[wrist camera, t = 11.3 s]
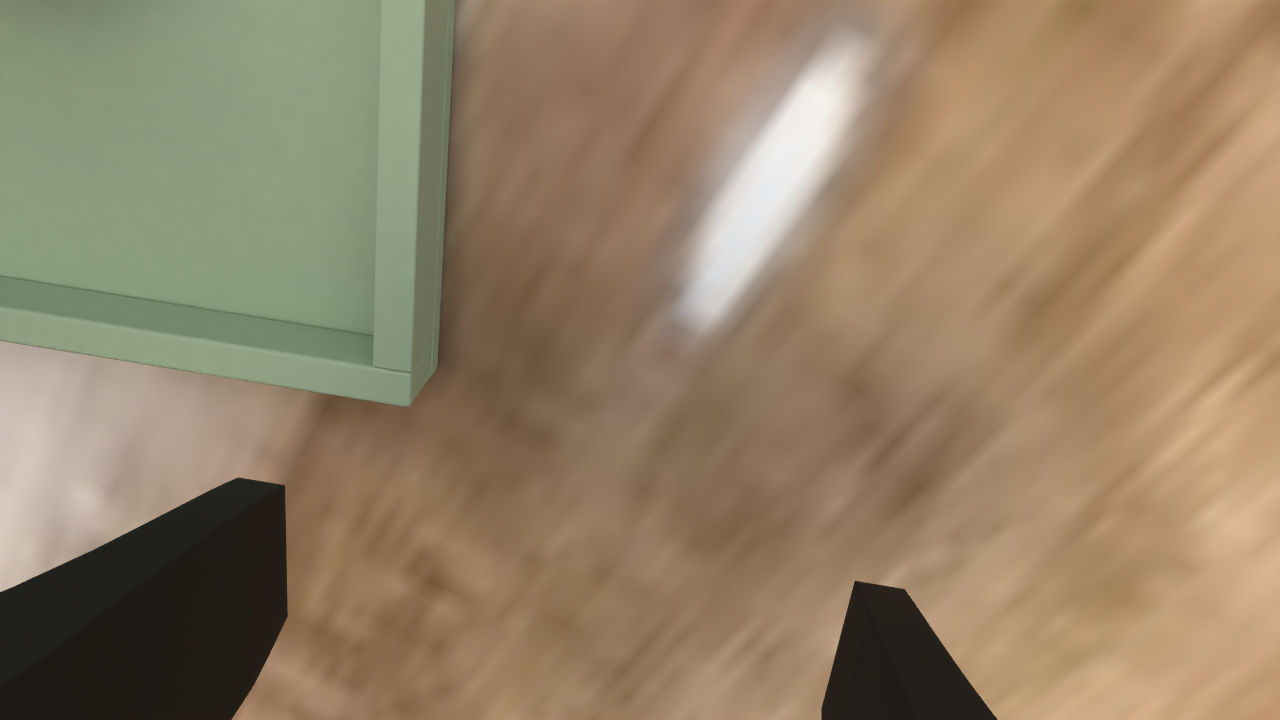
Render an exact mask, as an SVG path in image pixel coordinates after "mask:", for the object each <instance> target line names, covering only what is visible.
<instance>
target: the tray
mask: <svg viewBox="0 0 1280 720" xmlns="http://www.w3.org/2000/svg"><path fill="white" fill-rule="evenodd" d="M455 3H456V0H0V341H5V342H11V343H17V344H24V345H30V346H36V347H42V348H48V349H54V350H60V351H66V352H73V353H79V354H85V355H91V356H97V357H103V358H109V359H116V360H122V361H128V362H134V363H140V364H146V365H152V366H158V367H165V368H171V369H177V370H183V371H189V372H195V373H201V374H207V375H214V376H220V377H226V378H232V379H238V380H244V381H250V382H256V383H263V384H269V385H275V386H281V387H287V388H293V389H299V390H305V391H312V392H318V393H324V394H330V395H336V396H342V397H348V398H354V399H361V400H367V401H373V402H379V403H385V404H391V405H397V406H403V407H408V406H410V405H411V404H412V402H413V401H414V400H415V398H416V397H417V395H418V394H419V392H420V391H421V390H422V388H423V387H424V385H425V384H426V382H427V381H428V380H429V378H430V376H432V375H433V374H434V372H435V371H436V369H437V367H438V349H439V328H440V308H441V288H442V267H443V247H444V227H445V206H446V186H447V166H448V145H449V125H450V105H451V84H452V64H453V44H454V23H455Z"/></svg>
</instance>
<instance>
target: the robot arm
mask: <svg viewBox="0 0 1280 720" xmlns="http://www.w3.org/2000/svg"><path fill="white" fill-rule="evenodd" d="M287 616H288V613H287V564H286V514H285V485H280V484H274V483H268V482H262V481H256V480H250V479H244V478H236V479H234V480H232V481H229V482H227V483H225V484H222V485H220V486H218V487H216V488H214V489H212V490H210V491H208V492H206V493H204V494H202V495H200V496H198V497H196V498H194V499H192V500H190V501H188V502H186V503H184V504H183V505H181V506H179V507H177V508H175V509H173V510H171V511H169V512H167V513H165V514H163V515H161V516H159V517H157V518H156V519H154V520H152V521H150V522H148V523H146V524H144V525H142V526H140V527H138V528H136V529H134V530H132V531H130V532H128V533H126V534H124V535H122V536H120V537H118V538H116V539H114V540H112V541H110V542H108V543H106V544H104V545H102V546H100V547H98V548H96V549H94V550H92V551H90V552H88V553H86V554H84V555H81V556H79V557H77V558H75V559H73V560H71V561H68V562H66V563H64V564H62V565H60V566H58V567H55V568H53V569H51V570H49V571H47V572H44V573H42V574H40V575H38V576H36V577H34V578H31V579H29V580H27V581H25V582H23V583H21V584H18V585H16V586H14V587H12V588H9V589H7V590H5V591H2V592H0V720H231V719H232V718H233V716H234V715H235V713H236V712H237V710H238V709H239V707H240V706H241V704H242V703H243V701H244V700H245V698H246V696H247V695H248V693H249V692H250V690H251V689H252V687H253V686H254V684H255V682H256V680H257V678H258V676H259V674H260V672H261V670H262V668H263V666H264V664H265V662H266V660H267V658H268V656H269V654H270V652H271V650H272V648H273V646H274V644H275V642H276V640H277V637H278V635H279V633H280V631H281V629H282V627H283V625H284V623H285V621H286V618H287ZM822 720H997V718H996V717H995V716H994V715H993V713H992V712H991V711H990V709H989V708H988V707H987V705H986V704H985V703H984V701H983V700H982V699H981V697H980V696H979V695H978V693H977V692H976V691H975V689H974V688H973V687H972V685H971V684H970V683H969V681H968V680H967V678H966V677H965V676H964V674H963V673H962V671H961V670H960V669H959V667H958V666H957V664H956V663H955V661H954V660H953V659H952V657H951V656H950V654H949V653H948V651H947V650H946V649H945V647H944V646H943V644H942V643H941V641H940V640H939V638H938V637H937V635H936V634H935V633H934V631H933V630H932V628H931V627H930V625H929V624H928V622H927V621H926V619H925V618H924V616H923V615H922V613H921V612H920V611H919V609H918V608H917V606H916V605H915V603H914V602H913V601H912V599H911V598H910V596H909V595H908V593H907V592H906V590H905V589H900V588H894V587H888V586H882V585H876V584H870V583H864V582H858V581H855V582H854V586H853V590H852V594H851V598H850V602H849V605H848V609H847V613H846V617H845V621H844V625H843V628H842V632H841V636H840V640H839V644H838V648H837V651H836V655H835V659H834V663H833V667H832V671H831V674H830V678H829V682H828V686H827V690H826V694H825V697H824V701H823V705H822Z"/></svg>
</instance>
